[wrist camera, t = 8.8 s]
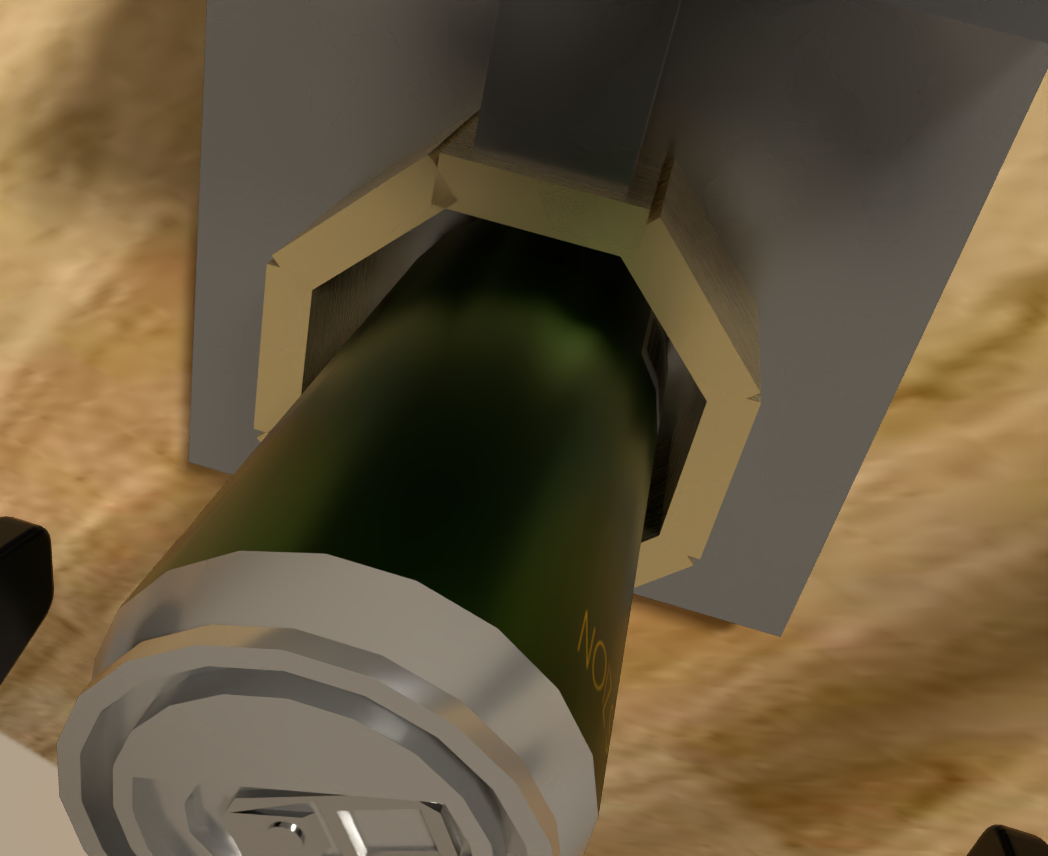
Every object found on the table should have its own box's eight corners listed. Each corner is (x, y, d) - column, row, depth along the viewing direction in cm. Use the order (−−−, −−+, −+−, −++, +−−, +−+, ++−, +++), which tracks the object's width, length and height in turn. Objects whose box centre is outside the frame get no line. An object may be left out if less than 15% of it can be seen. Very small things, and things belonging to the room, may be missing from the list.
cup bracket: (1071, -50, 16) (1343, 14, 9) (778, 594, 23) (794, 923, 16) (257, -252, 17) (-113, -347, 10) (218, 430, 24) (-10, 671, 17)
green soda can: (641, 174, 18) (494, 596, 7) (694, 434, 20) (639, 1033, 10) (368, 231, 19) (-70, 645, 9) (446, 467, 21) (172, 1013, 11)
